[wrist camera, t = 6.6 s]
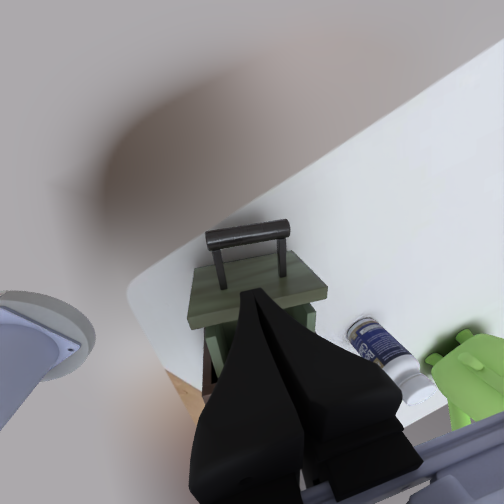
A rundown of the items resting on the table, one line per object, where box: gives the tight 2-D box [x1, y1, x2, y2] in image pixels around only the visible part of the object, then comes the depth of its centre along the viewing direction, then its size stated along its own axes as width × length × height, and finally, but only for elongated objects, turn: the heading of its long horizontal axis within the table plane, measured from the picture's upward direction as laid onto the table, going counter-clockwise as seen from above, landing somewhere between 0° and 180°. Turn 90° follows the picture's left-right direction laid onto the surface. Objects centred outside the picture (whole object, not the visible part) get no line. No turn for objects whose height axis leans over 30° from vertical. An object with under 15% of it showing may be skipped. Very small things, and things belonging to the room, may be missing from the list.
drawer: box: [187, 219, 328, 378], centre depth 18 cm, size 17×10×7 cm, turn 6°
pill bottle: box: [348, 318, 437, 406], centre depth 26 cm, size 5×5×10 cm
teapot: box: [425, 329, 504, 431], centre depth 35 cm, size 25×22×16 cm
